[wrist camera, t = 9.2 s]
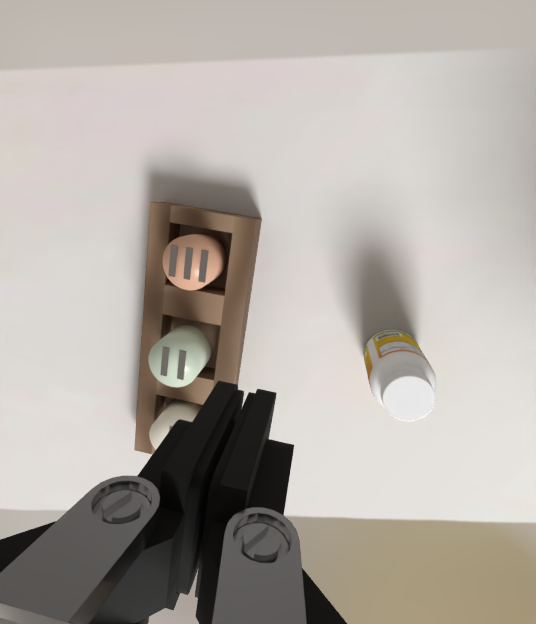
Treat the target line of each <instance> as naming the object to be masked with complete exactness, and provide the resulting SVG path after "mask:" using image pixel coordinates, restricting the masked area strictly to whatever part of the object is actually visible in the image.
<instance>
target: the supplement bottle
mask: <svg viewBox="0 0 536 624" xmlns="http://www.w3.org/2000/svg"><path fill="white" fill-rule="evenodd" d="M364 361H365V365H366V370H367V374H368V379H369V384H370V388H371V391H372V394H373V396H374V397H375V399H376V400H377V401H378V402H379V403H380V404H381V405H382V406H384V408H385V409H386V411H387V412H388V413H389V414H390V415H391V416H393V417H394V418H396V419H398V420H401V421H416V420H419V419H421V418H423V417H425V416H426V415H427V414H429V413H430V411H431V410H432V408H433V407H434V404H435V388H436V377H435V373H434V371H433V369H432V367H431V365H430V364H429V362H428V361H427V359H426V357H425V356H424V354H423V353H422V351H421V349H420V348H419V346H418V344H417V343H416V342H415V340H414V339H413V338H412V337H411V336H410V335H409V334H407V333H405V332H403V331H400V330H392V329H390V330H384V331H381V332H379V333H377V334H375V335H374V336H373V337H372V338H371V339H370V340H369V341H368V343H367V344H366V347H365V350H364Z"/></svg>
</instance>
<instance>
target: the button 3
mask: <svg viewBox="0 0 536 624" xmlns="http://www.w3.org/2000/svg"><path fill="white" fill-rule="evenodd" d="M225 266H226V252H225V249H224V247H223V245H222V243H221V242H220V241H219V240H218V239H217V238H216V237H214V236H212V235H210V234H207V233H195V234H190V235H186V236H182V237H178V238H176V239H174V240H173V241H171V242H170V243H169V244H168V246H167V247H166V249H165V251H164V254H163V268H164V271H165V274H166V276H167V277H168V279H169V280H170V281H171V282H172V283H173V284H174V285H176V286H177V287H179V288H181V289H184V290H197V289H200V288H202V287H204V286H205V285H207V284H208V283H210V282H211V281H213V280H214V279H216V278H217V277H219V276H220V275H221V274H222V272H223V270H224V268H225Z"/></svg>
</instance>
